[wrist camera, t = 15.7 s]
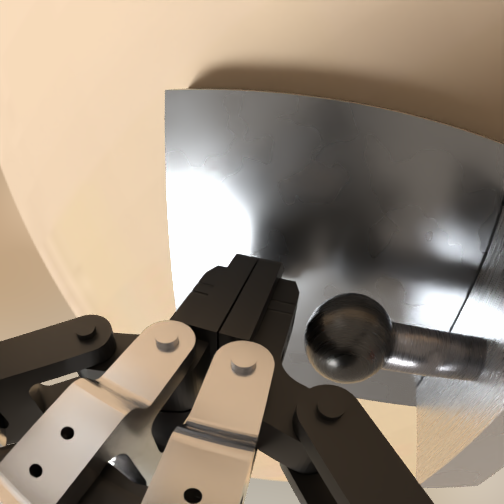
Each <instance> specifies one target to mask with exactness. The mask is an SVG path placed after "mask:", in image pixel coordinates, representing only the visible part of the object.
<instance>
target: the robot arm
mask: <svg viewBox="0 0 504 504" xmlns="http://www.w3.org/2000/svg"><path fill="white" fill-rule="evenodd" d="M282 274H283V262H278V261H273V260H268V259H263V258H258V257H253V256H248V255H243V254H238V253H237V254H236V255H235V256H234V258H233V259H232V261H231V262H230V263H229V265H228V266H227V267H225V266H221V265H217V266H215V267H214V268H212V269H210V270H208V271H207V272H205V274H204V275H203V276H202V278H201V279H200V280H199V281H198V284H196V285H195V287H194V288H193V289H192V292H190V293H189V295H188V296H187V297H186V299H185V300H184V301H183V303H182V304H181V305H180V307H179V308H178V309H177V311H176V312H175V313H174V315H173V316H172V317H171V319H170V320H165V321H159V322H156V323H154V324H152V325H150V326H148V327H147V328H146V329H145V330H144V331H143V332H142V333H141V334H140V335H136V334H122V333H113V331H112V328H111V325H110V323H109V321H108V320H107V319H105V318H104V317H101V316H98V315H85V316H81V317H78V318H75V319H72V320H69V321H65V322H62V323H59V324H56V325H53V326H49V327H46V328H43V329H40V330H36V331H33V332H30V333H27V334H23V335H20V336H17V337H14V338H11V339H7V340H4V341H1V342H0V504H244V501H245V497H246V493H247V489H248V485H249V481H250V478H251V474H252V470H253V466H254V462H255V458H256V454H257V450H260V451H261V452H263V453H265V454H266V455H268V456H270V457H271V458H273V459H275V460H276V461H278V462H280V466H281V468H282V470H283V472H284V474H285V476H286V478H287V480H288V482H289V483H290V485H291V487H292V489H293V491H294V493H295V494H296V496H297V498H298V500H299V502H300V503H301V504H434V503H433V502H432V500H431V499H430V498H429V496H428V495H427V494H426V492H425V491H424V489H423V488H422V487H421V485H420V484H419V483H418V481H417V480H416V479H415V477H414V476H413V475H412V473H411V472H410V470H409V469H408V468H407V466H406V465H405V464H404V462H403V461H402V460H401V458H400V457H399V456H398V454H397V453H396V452H395V450H394V449H393V448H392V446H391V445H390V443H389V442H388V441H387V439H386V438H385V437H384V435H383V434H382V433H381V431H380V430H379V429H378V427H377V426H376V425H375V423H374V422H373V420H372V419H371V418H370V416H369V415H368V414H367V412H366V411H365V410H364V408H363V407H362V406H361V404H360V403H359V402H358V400H357V399H356V398H355V396H354V395H353V394H351V393H350V392H349V391H347V390H346V389H344V388H342V387H339V386H336V385H330V384H323V385H317V386H314V387H312V388H308V387H306V386H304V385H302V384H301V383H299V382H297V381H295V380H294V379H293V378H291V377H290V376H289V375H288V374H287V372H286V371H285V369H284V368H283V365H282V363H283V360H284V357H285V354H286V350H287V347H288V344H289V340H290V337H291V333H292V330H293V325H294V320H295V315H296V310H297V304H298V299H299V293H300V292H299V289H298V287H297V284H296V281H291V280H286V279H282ZM74 372H78V374H79V377H76V378H73V379H70V380H67V381H64V382H61V383H57V384H54V385H50V386H45V385H42V384H40V383H42V382H45V381H48V380H52V379H55V378H58V377H61V376H64V375H67V374H70V373H74ZM16 442H17V443H16ZM12 443H14V444H12ZM8 444H10V445H8Z"/></svg>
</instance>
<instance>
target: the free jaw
mask: <svg viewBox="0 0 504 504" xmlns="http://www.w3.org/2000/svg"><path fill="white" fill-rule="evenodd" d="M304 347H305V352H306V355H307V358H308V360H309V362H310V363H311V365H312V366H313V368H314V369H315V370H316V371H317V372H318V373H319V374H320V375H322V376H323V377H325V378H327V379H329V380H331V381H334V382H337V383H344V384H350V383H357V382H361V381H364V380H366V379H368V378H370V377H372V376H373V375H375V374H376V373H377V372H378V371H379V370H380V369H383V370H389V371H395V372H402V373H409V374H415V375H423V376H424V378H423V380H422V381H421V383H420V384H419V386H418V387H417V389H416V403H417V471H416V480H417V481H418V483H419V484H420V485H421V487H422V488H442V487H464V486H477V485H479V484H481V483H482V482H484V481H485V480H486V479H488V478H489V477H491V476H492V475H493V474H495V473H496V472H497V471H499V470H500V469H501V468H503V467H504V206H503V209H502V213H501V216H500V219H499V222H498V225H497V228H496V231H495V234H494V236H493V239H492V242H491V245H490V247H489V250H488V253H487V255H486V258H485V260H484V263H483V265H482V268H481V270H480V272H479V275H478V277H477V279H476V282H475V284H474V286H473V288H472V290H471V293H470V295H469V297H468V299H467V301H466V303H465V305H464V307H463V309H462V311H461V313H460V315H459V317H458V319H457V321H456V323H455V325H454V327H453V329H452V331H451V332H447V331H441V330H435V329H430V328H424V327H418V326H413V325H407V324H402V323H396V322H392V321H391V319H390V317H389V315H388V313H387V312H386V310H385V309H384V308H383V306H382V305H380V304H379V303H378V302H377V301H376V300H374V299H372V298H371V297H368V296H366V295H362V294H358V293H344V294H339V295H336V296H333V297H331V298H329V299H327V300H326V301H324V302H323V303H321V304H320V305H319V306H318V307H317V308H316V309H315V310H314V312H313V313H312V315H311V316H310V318H309V320H308V322H307V325H306V328H305V333H304Z"/></svg>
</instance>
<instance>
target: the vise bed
mask: <svg viewBox="0 0 504 504" xmlns="http://www.w3.org/2000/svg"><path fill="white" fill-rule="evenodd" d="M165 161H166V189H167V209H168V225H169V240H170V253H171V264H172V275H173V286H174V295H175V304H176V311H177V309H178V308H179V307H180V305H181V304H182V303H183V301H184V300H185V299H186V297H187V296H188V295H189V293H190V292H192V289H193V288H194V287H195V285H196V284H198V281H199V280H200V279H201V278H202V276H203V275H204V274H205V272H207V271H208V270H210V269H212V268H214V267H215V266H217V265H221V266H225V267H227V266H228V265H229V263H230V262H231V261H232V259H233V258H234V256H235V255H236V254H237V253H238V254H243V255H248V256H253V257H258V258H263V259H268V260H273V261H278V262H283V274H282V279H286V280H291V281H296V284H297V287H298V289H299V292H300V293H299V299H298V304H297V310H296V315H295V320H294V325H293V330H292V333H291V337H290V340H289V344H288V347H287V350H286V354H285V357H284V360H283V363H282V365H283V368H284V369H285V371H286V372H287V374H288V375H289V376H290V377H291V378H293V379H294V380H295V381H297V382H299V383H301V384H302V385H304V386H306V387H308V388H312V387H314V386H317V385H323V384H330V385H336V386H339V387H342V388H344V389H346V390H347V391H349V392H350V393H351V394H353V395H354V396H355V398H360V399H366V400H372V401H378V402H385V403H392V404H400V405H408V406H416V407H417V403H416V389H417V387H418V386H419V384H420V383H421V381H422V380H423V378H424V376H423V375H415V374H409V373H402V372H395V371H389V370H383V369H380V370H379V371H378V372H377V373H376V374H375V375H373V376H372V377H370V378H368V379H366V380H364V381H361V382H357V383H350V384H344V383H337V382H334V381H331V380H329V379H327V378H325V377H323V376H322V375H320V374H319V373H318V372H317V371H316V370H315V369H314V368H313V366H312V365H311V363H310V362H309V360H308V358H307V355H306V352H305V347H304V333H305V328H306V325H307V322H308V320H309V318H310V316H311V315H312V313H313V312H314V310H315V309H316V308H317V307H318V306H319V305H320V304H321V303H323V302H324V301H326V300H327V299H329V298H331V297H333V296H336V295H339V294H344V293H358V294H362V295H366V296H368V297H371V298H372V299H374V300H376V301H377V302H378V303H379V304H380V305H382V306H383V308H384V309H385V310H386V312H387V313H388V315H389V317H390V319H391V321H392V322H396V323H402V324H407V325H413V326H418V327H424V328H430V329H435V330H441V331H447V332H451V331H452V329H453V327H454V325H455V323H456V321H457V319H458V317H459V315H460V313H461V311H462V309H463V307H464V305H465V303H466V301H467V299H468V297H469V295H470V293H471V290H472V288H473V286H474V284H475V282H476V279H477V277H478V275H479V272H480V270H481V268H482V265H483V263H484V260H485V258H486V255H487V253H488V250H489V247H490V245H491V242H492V239H493V236H494V234H495V231H496V228H497V225H498V222H499V219H500V216H501V213H502V209H503V206H504V144H503V143H501V142H498V141H495V140H493V139H490V138H487V137H485V136H482V135H479V134H476V133H473V132H470V131H467V130H464V129H461V128H458V127H455V126H451V125H448V124H445V123H441V122H438V121H435V120H431V119H427V118H424V117H420V116H416V115H412V114H408V113H404V112H400V111H395V110H391V109H386V108H382V107H377V106H372V105H367V104H362V103H356V102H351V101H345V100H338V99H332V98H325V97H318V96H310V95H302V94H293V93H283V92H272V91H258V90H240V89H173V90H165Z"/></svg>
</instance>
